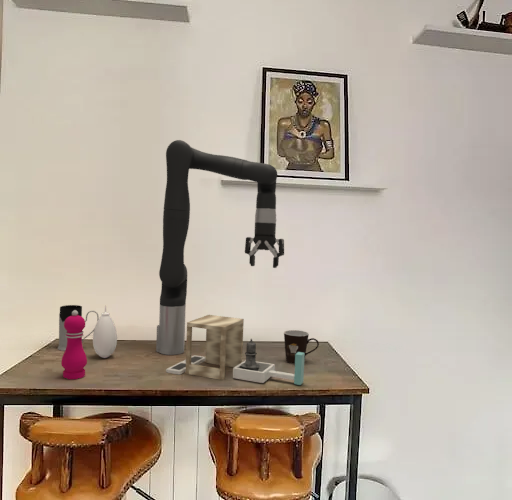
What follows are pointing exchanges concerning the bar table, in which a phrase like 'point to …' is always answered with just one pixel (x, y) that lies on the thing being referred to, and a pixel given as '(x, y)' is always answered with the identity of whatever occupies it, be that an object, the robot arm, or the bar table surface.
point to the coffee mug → (296, 344)
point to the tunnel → (216, 345)
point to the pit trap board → (181, 366)
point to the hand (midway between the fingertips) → (263, 266)
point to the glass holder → (64, 313)
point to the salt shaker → (250, 357)
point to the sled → (271, 371)
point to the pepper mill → (74, 348)
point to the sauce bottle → (105, 336)
